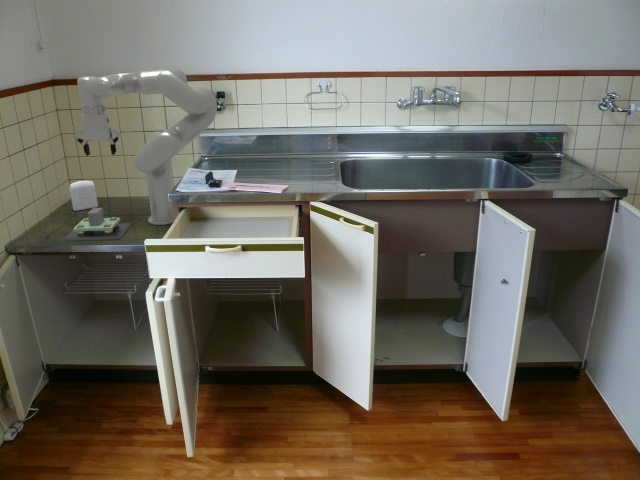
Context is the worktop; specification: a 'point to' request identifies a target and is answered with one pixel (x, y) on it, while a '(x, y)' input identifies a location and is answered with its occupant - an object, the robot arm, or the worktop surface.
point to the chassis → (99, 233)
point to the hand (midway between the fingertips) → (101, 154)
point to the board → (95, 228)
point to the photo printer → (83, 195)
